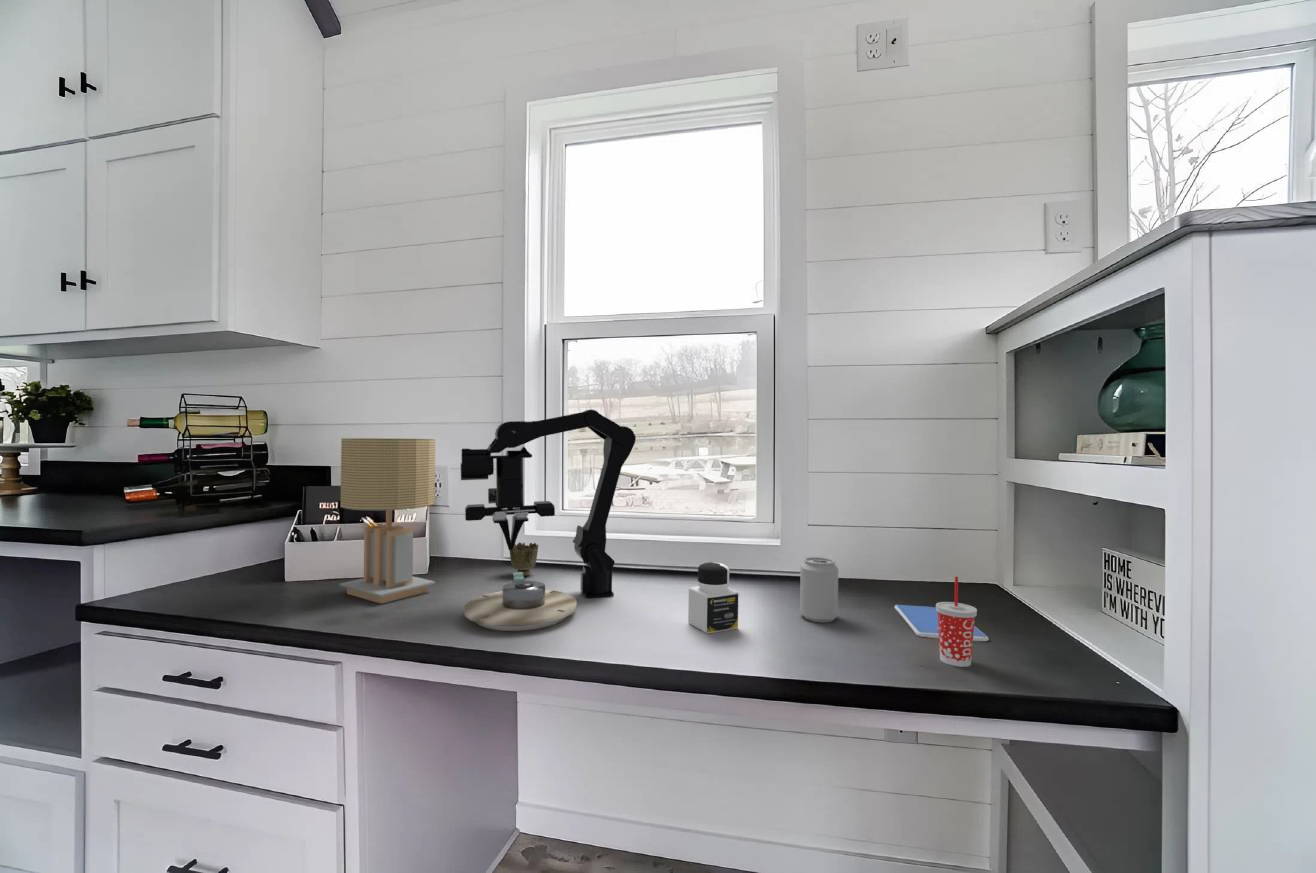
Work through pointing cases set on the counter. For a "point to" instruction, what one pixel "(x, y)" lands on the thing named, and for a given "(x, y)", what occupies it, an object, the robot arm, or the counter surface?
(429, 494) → the desk lamp
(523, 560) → the cup
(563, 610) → the turntable
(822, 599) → the can
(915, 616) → the tablet computer
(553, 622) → the turntable base
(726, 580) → the medicine bottle
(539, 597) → the iron cover
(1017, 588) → the counter surface
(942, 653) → the beverage cup
